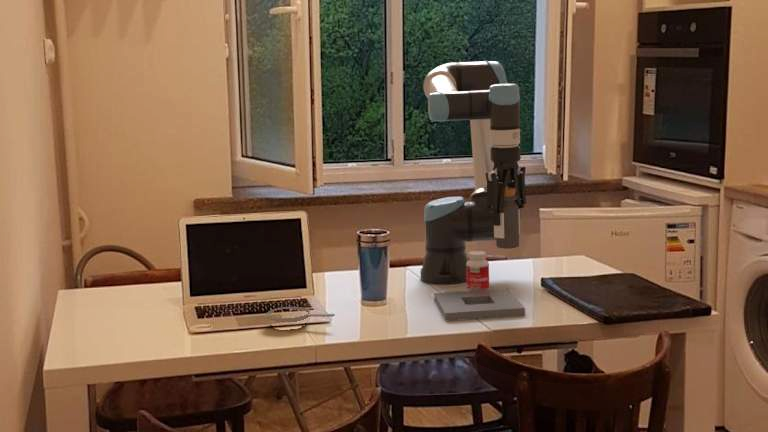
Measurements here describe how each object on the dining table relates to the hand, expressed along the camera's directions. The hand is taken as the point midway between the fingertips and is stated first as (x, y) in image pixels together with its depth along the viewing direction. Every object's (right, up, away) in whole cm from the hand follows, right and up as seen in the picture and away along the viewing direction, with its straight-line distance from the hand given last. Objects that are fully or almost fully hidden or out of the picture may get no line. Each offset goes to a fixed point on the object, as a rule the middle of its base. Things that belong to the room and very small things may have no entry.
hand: (507, 235), depth 255 cm
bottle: (0, -3, +1) cm, 3 cm away
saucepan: (-52, -23, -8) cm, 57 cm away
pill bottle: (-6, -16, +18) cm, 25 cm away
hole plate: (-7, -19, +2) cm, 20 cm away
